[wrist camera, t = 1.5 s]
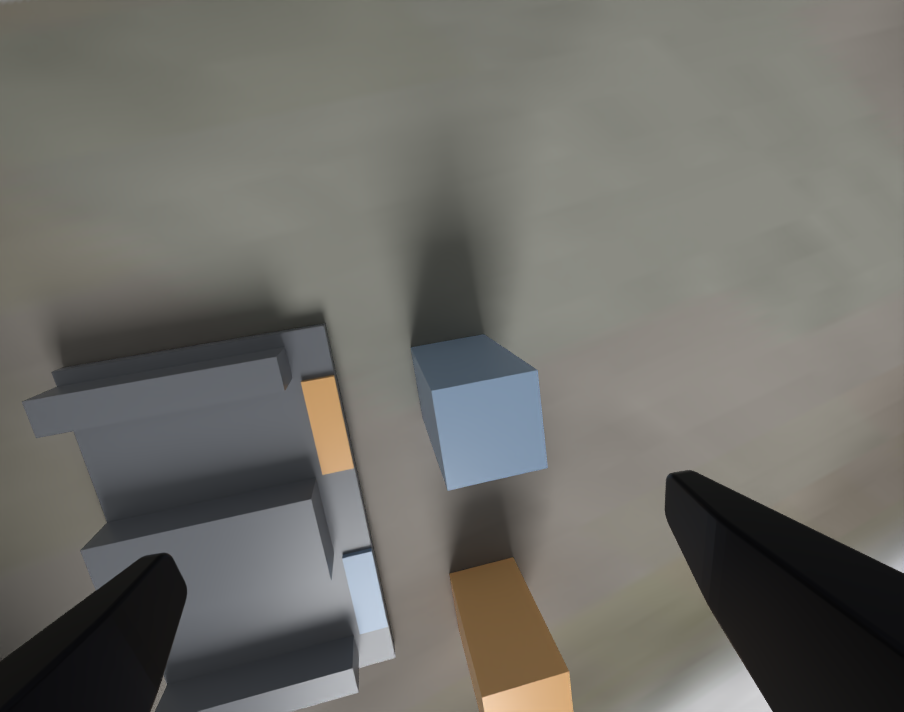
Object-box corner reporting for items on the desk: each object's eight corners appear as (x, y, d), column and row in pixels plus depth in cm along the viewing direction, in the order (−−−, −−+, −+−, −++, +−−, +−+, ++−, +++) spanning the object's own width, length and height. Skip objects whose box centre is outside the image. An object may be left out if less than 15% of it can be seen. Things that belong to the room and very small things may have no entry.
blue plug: (493, 403, 26) (547, 468, 18) (422, 418, 25) (447, 490, 17) (484, 334, 25) (537, 370, 17) (410, 347, 24) (431, 391, 16)
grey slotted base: (394, 646, 28) (397, 692, 25) (184, 704, 26) (162, 759, 23) (325, 323, 23) (319, 332, 20) (62, 367, 21) (15, 385, 18)
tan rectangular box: (520, 611, 29) (576, 740, 21) (458, 628, 28) (493, 767, 21) (513, 557, 28) (569, 671, 20) (449, 573, 27) (482, 697, 20)
